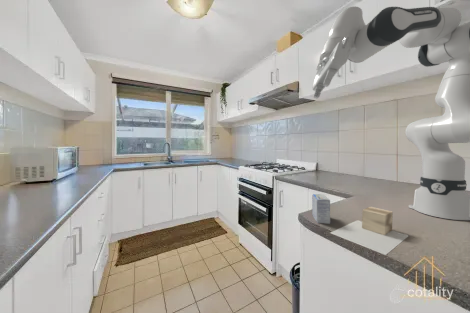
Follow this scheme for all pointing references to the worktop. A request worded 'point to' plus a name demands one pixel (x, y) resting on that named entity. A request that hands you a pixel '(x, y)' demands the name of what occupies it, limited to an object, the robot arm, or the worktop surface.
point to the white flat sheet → (370, 237)
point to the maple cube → (377, 220)
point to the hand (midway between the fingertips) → (320, 91)
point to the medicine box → (321, 208)
